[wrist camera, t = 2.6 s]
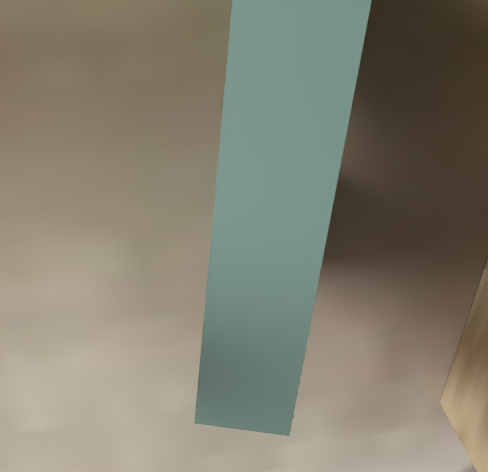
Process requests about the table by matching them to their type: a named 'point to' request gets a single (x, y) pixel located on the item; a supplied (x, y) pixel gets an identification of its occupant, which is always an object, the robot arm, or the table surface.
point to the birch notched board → (471, 382)
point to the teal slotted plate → (274, 201)
